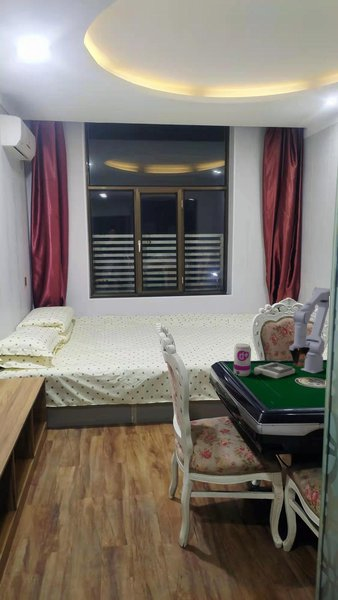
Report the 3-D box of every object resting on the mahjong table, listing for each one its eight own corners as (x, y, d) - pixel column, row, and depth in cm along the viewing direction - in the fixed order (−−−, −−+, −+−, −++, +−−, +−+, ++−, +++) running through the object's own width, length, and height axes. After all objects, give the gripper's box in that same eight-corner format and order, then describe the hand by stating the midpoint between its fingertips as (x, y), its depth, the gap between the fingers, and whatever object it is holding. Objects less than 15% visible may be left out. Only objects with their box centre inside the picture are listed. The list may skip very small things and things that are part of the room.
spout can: (297, 363, 213) (298, 351, 213) (308, 366, 208) (309, 354, 207) (291, 364, 210) (292, 353, 209) (302, 368, 205) (303, 356, 204)
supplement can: (249, 377, 209) (251, 347, 207) (233, 376, 211) (234, 346, 209) (250, 372, 217) (251, 343, 215) (233, 371, 219) (235, 342, 217)
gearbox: (272, 366, 228) (272, 360, 228) (294, 372, 217) (295, 366, 217) (249, 372, 216) (249, 366, 216) (271, 380, 205) (271, 373, 205)
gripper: (298, 339, 200) (297, 366, 202) (316, 334, 209) (314, 361, 211) (286, 336, 205) (284, 363, 207) (303, 332, 214) (302, 358, 216)
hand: (298, 362), depth 210 cm, fingers closed on spout can, 5 cm apart
